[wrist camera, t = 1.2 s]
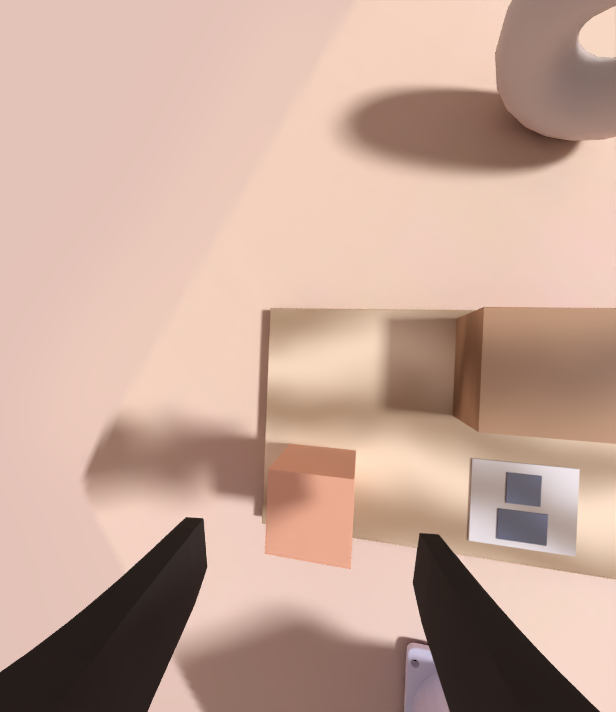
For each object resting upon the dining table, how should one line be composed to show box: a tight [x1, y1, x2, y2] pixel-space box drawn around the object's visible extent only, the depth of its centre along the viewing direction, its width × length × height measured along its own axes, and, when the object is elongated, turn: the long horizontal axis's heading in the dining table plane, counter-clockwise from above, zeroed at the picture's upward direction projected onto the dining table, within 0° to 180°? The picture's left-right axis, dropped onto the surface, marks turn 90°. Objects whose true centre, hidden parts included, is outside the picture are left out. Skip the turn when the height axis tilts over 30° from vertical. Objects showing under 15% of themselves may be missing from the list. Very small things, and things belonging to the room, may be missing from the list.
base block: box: [452, 307, 616, 444], centre depth 15 cm, size 6×6×4 cm
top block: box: [265, 444, 356, 569], centre depth 17 cm, size 4×4×4 cm
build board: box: [262, 308, 616, 579], centre depth 18 cm, size 15×22×1 cm
